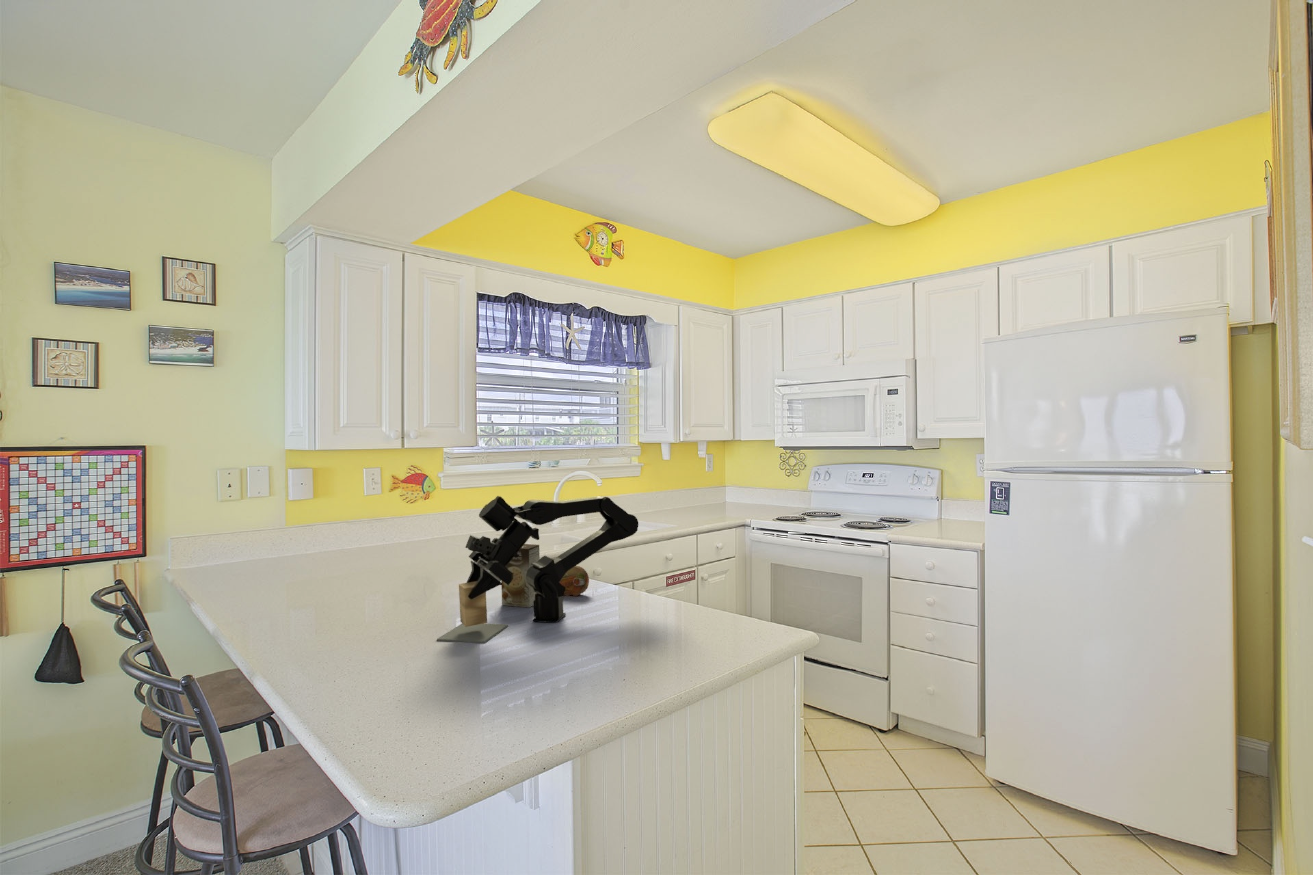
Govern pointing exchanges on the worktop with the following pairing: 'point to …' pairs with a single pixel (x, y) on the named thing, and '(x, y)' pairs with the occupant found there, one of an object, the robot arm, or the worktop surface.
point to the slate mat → (473, 633)
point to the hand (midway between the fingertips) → (466, 595)
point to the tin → (575, 581)
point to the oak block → (472, 606)
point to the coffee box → (520, 578)
